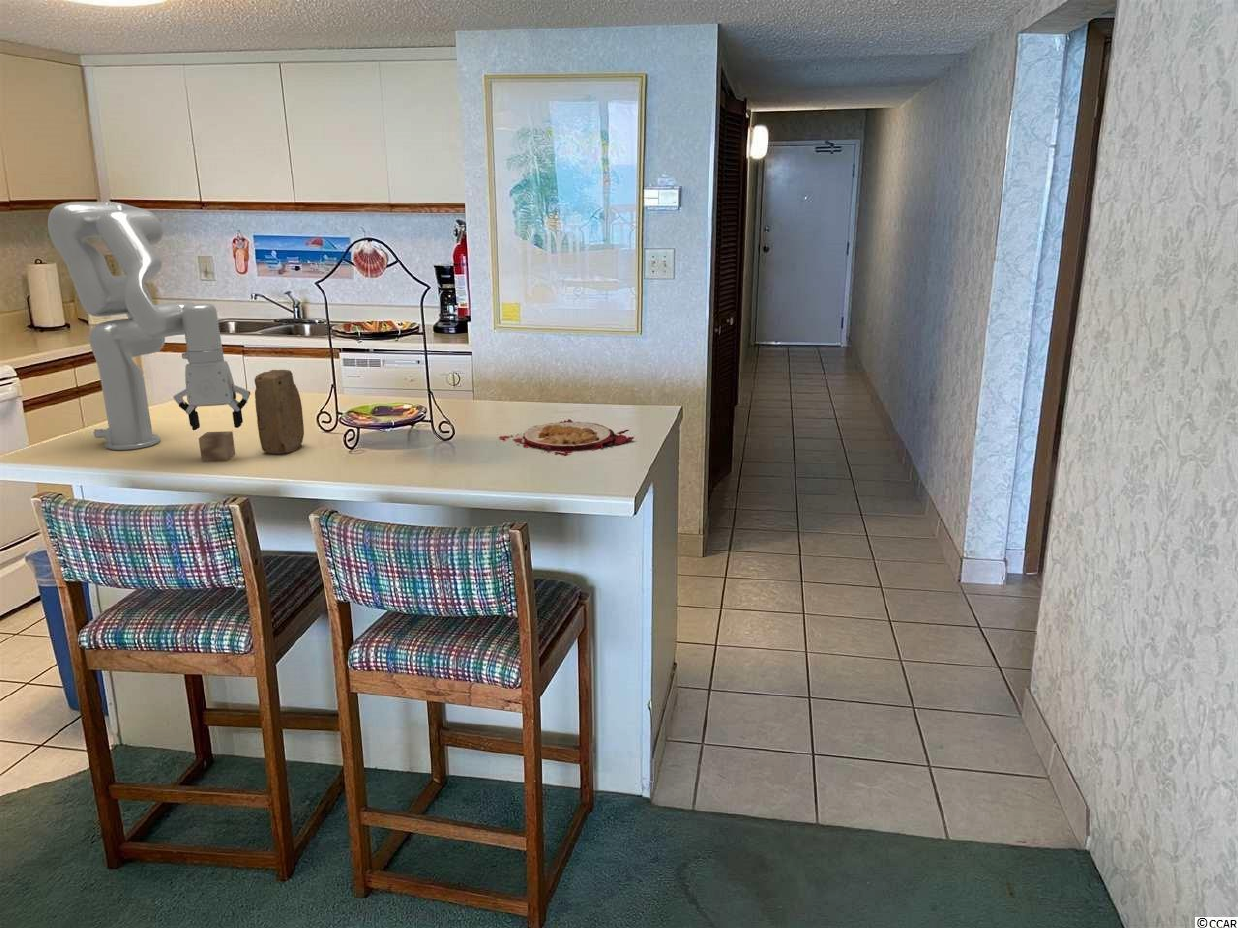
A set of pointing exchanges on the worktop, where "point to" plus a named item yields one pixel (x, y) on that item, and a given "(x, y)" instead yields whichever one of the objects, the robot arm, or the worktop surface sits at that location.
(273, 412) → the block
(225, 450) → the cube
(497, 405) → the worktop surface
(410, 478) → the worktop surface
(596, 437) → the plate with food
